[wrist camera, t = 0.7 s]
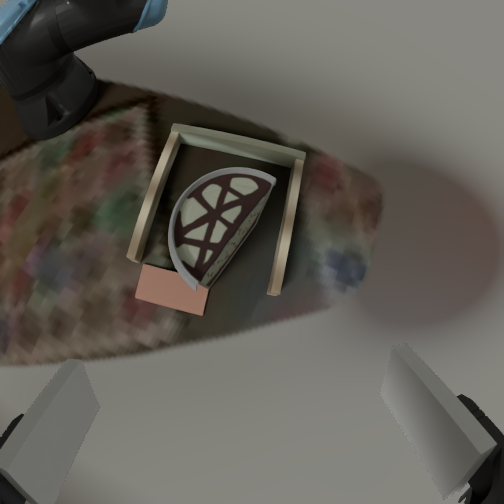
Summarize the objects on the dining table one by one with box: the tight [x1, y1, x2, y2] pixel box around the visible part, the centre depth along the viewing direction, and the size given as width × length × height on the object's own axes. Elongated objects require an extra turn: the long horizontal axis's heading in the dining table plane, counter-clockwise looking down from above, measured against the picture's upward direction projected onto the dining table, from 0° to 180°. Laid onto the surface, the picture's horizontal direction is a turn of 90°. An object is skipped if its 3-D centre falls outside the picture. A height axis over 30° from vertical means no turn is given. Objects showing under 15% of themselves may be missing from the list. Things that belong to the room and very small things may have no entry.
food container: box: [168, 167, 276, 291], centre depth 29 cm, size 12×6×10 cm, turn 145°
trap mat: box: [135, 264, 209, 316], centre depth 32 cm, size 4×8×1 cm, turn 78°
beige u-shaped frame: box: [127, 123, 306, 296], centre depth 33 cm, size 18×17×3 cm
